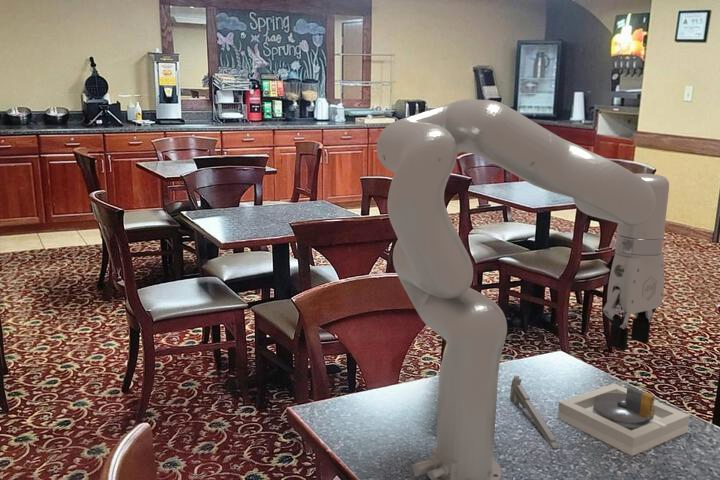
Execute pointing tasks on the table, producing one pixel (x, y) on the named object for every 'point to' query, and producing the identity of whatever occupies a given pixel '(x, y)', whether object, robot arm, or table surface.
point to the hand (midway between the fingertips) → (628, 343)
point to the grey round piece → (626, 408)
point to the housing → (631, 442)
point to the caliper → (530, 409)
